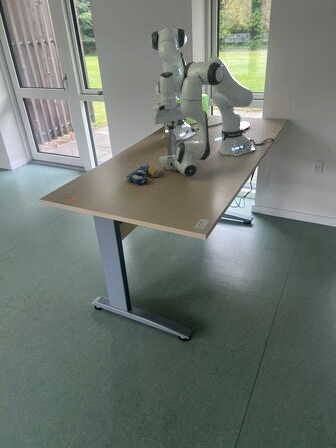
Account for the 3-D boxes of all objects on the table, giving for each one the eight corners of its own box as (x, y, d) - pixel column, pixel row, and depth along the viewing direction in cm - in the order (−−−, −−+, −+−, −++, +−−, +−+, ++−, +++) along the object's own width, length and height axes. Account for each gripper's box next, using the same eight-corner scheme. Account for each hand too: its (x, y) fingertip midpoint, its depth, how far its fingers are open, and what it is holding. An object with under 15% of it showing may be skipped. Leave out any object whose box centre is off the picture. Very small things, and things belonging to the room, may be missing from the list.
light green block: (191, 115, 302) (190, 88, 290) (208, 118, 288) (208, 90, 276) (170, 121, 289) (168, 93, 277) (187, 125, 275) (185, 95, 263)
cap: (174, 127, 195) (174, 125, 194) (172, 129, 192) (172, 126, 191) (168, 127, 196) (168, 124, 195) (166, 129, 193) (166, 126, 192)
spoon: (243, 140, 236) (243, 137, 234) (228, 139, 239) (228, 137, 238) (251, 123, 262) (251, 121, 261) (237, 123, 266) (237, 120, 264)
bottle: (179, 163, 204) (177, 127, 192) (171, 165, 202) (168, 129, 190) (175, 160, 208) (172, 125, 197) (167, 162, 206) (164, 127, 195)
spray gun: (164, 171, 194) (142, 169, 200) (163, 164, 191) (141, 162, 198) (147, 187, 178) (123, 184, 185) (146, 179, 176) (122, 177, 182)
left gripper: (182, 100, 193) (184, 124, 200) (150, 106, 186) (152, 131, 193) (188, 102, 188) (189, 126, 195) (154, 108, 181) (157, 133, 188)
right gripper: (196, 153, 192) (187, 146, 204) (163, 159, 187) (155, 152, 199) (197, 163, 196) (188, 156, 207) (164, 170, 191) (156, 162, 202)
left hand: (170, 129), depth 194 cm, fingers closed on cap, 4 cm apart
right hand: (172, 154), depth 203 cm, fingers closed on bottle, 5 cm apart
